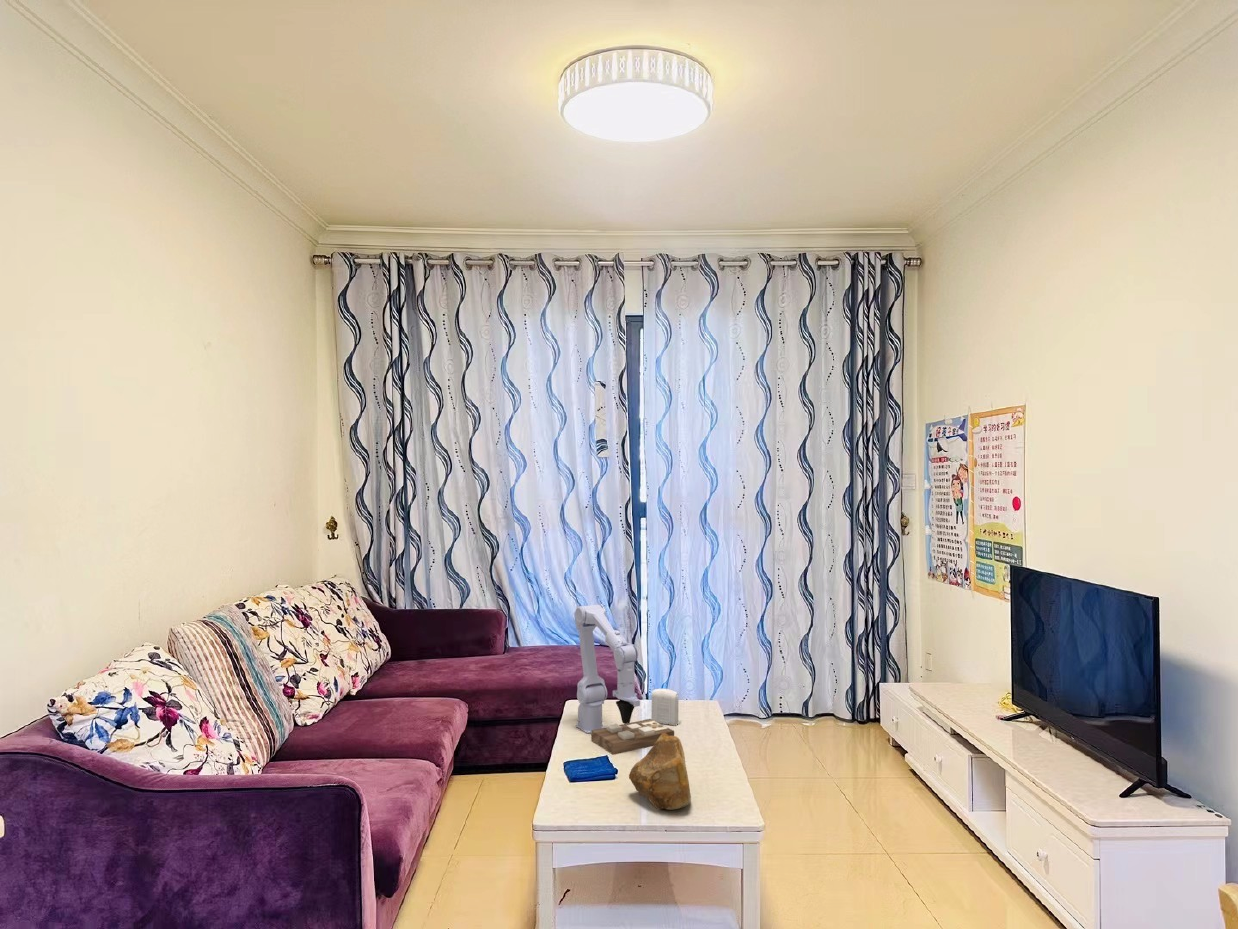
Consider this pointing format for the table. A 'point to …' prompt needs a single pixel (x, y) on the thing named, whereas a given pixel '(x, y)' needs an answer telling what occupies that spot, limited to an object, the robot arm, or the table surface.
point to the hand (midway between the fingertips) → (626, 722)
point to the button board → (639, 741)
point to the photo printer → (665, 706)
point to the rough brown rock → (663, 774)
